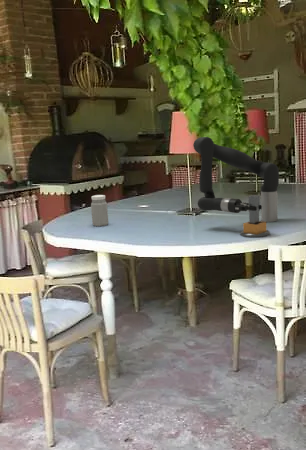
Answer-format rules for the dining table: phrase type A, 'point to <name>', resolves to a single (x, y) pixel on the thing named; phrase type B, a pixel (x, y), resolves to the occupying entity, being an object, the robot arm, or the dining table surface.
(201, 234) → the dining table surface
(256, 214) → the grey tall block
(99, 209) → the jar
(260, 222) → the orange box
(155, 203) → the dining table surface
